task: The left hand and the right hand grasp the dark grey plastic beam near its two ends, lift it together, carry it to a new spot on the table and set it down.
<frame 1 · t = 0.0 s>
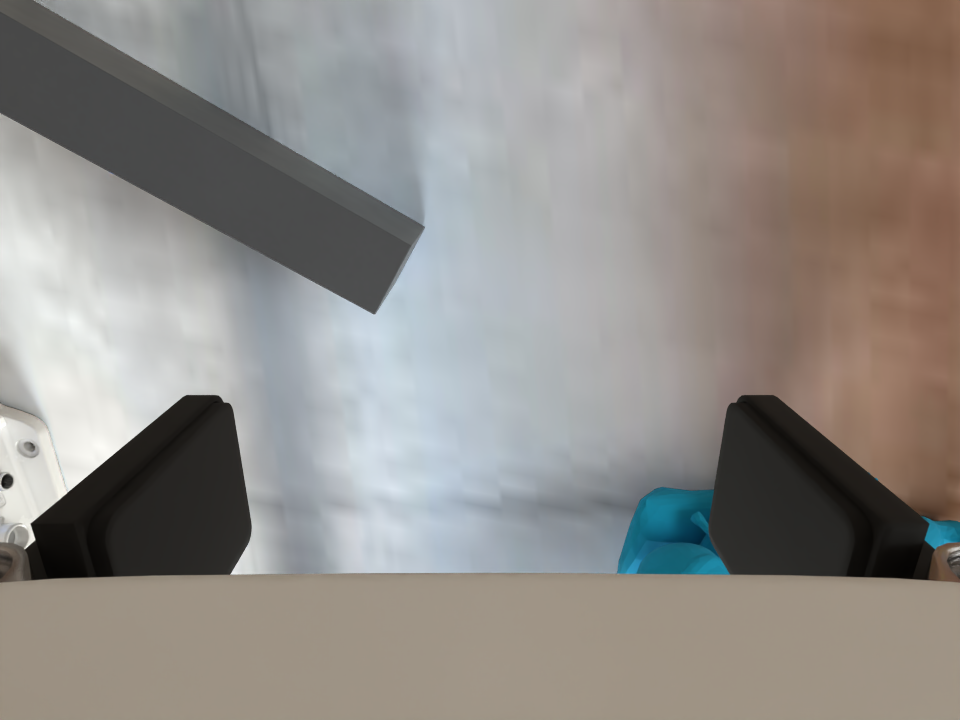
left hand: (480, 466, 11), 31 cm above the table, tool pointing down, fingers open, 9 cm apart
toy: (776, 524, 48), on the table
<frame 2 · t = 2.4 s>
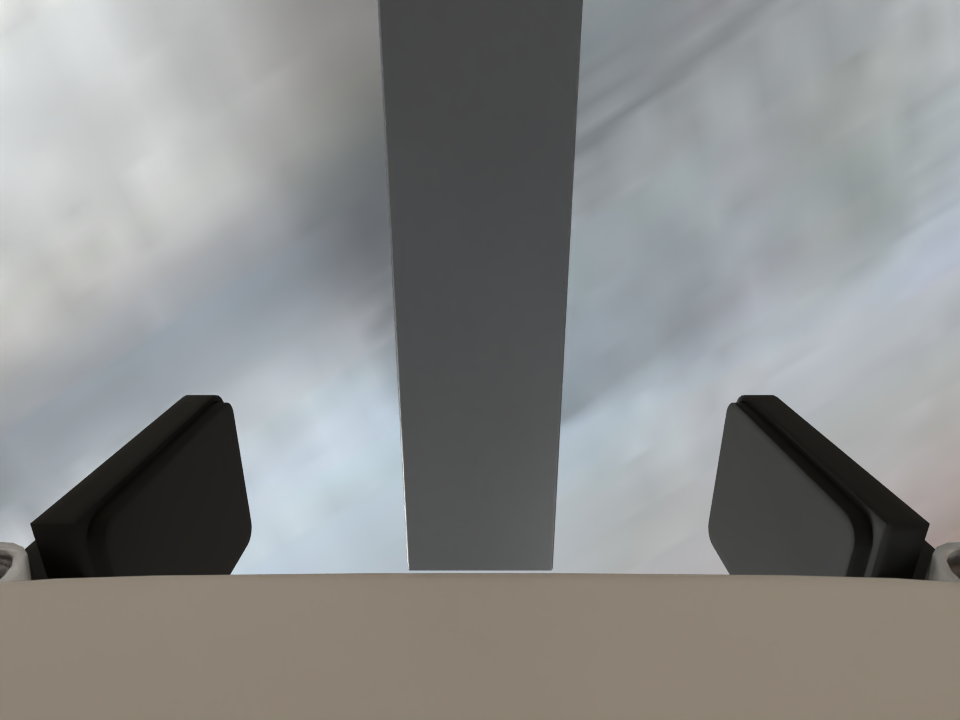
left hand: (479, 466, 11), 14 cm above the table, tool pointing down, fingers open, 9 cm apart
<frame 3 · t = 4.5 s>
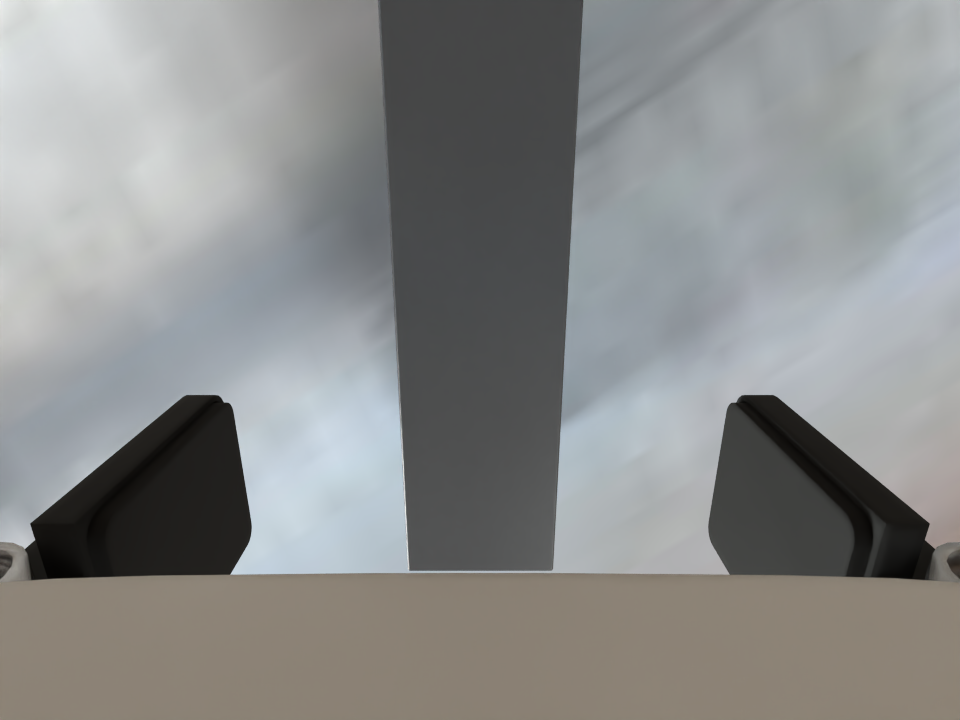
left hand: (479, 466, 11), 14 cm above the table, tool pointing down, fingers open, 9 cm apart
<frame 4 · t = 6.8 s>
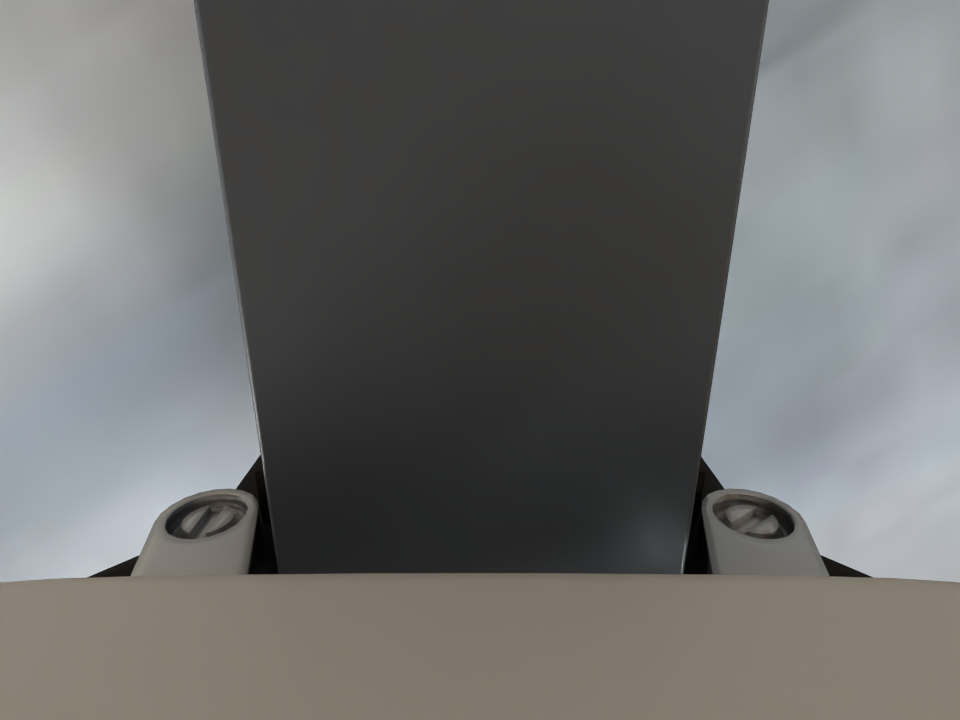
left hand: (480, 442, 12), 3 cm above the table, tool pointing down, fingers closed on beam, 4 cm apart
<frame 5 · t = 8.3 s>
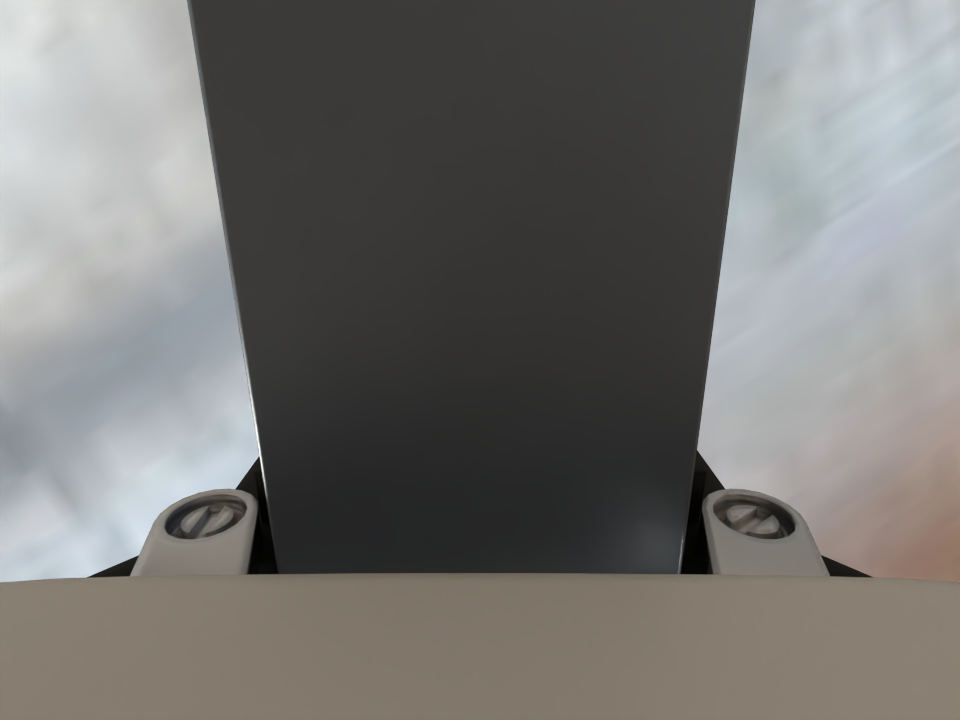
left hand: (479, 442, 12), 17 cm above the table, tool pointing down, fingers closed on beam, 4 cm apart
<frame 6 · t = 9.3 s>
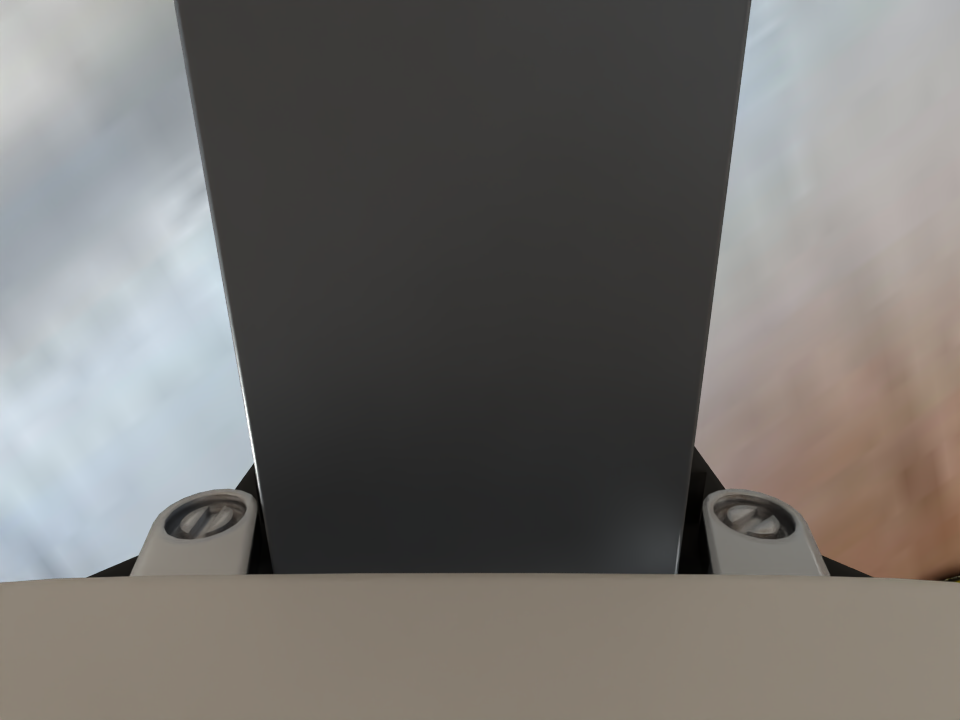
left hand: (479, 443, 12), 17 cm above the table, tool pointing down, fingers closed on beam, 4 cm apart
when the left hand's fingers open (4 cm above the table, at t = 12.3 s): beam stays where it is, on the table.
when the right hand's fingers open (4 cm above the table, at t = 12.4 s): beam stays where it is, on the table.
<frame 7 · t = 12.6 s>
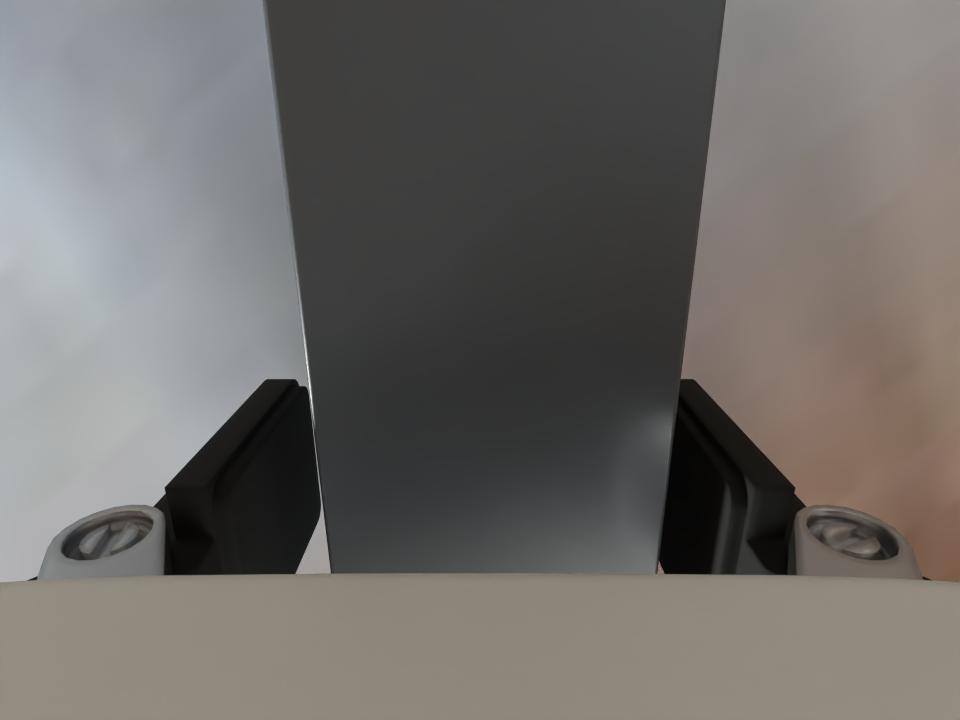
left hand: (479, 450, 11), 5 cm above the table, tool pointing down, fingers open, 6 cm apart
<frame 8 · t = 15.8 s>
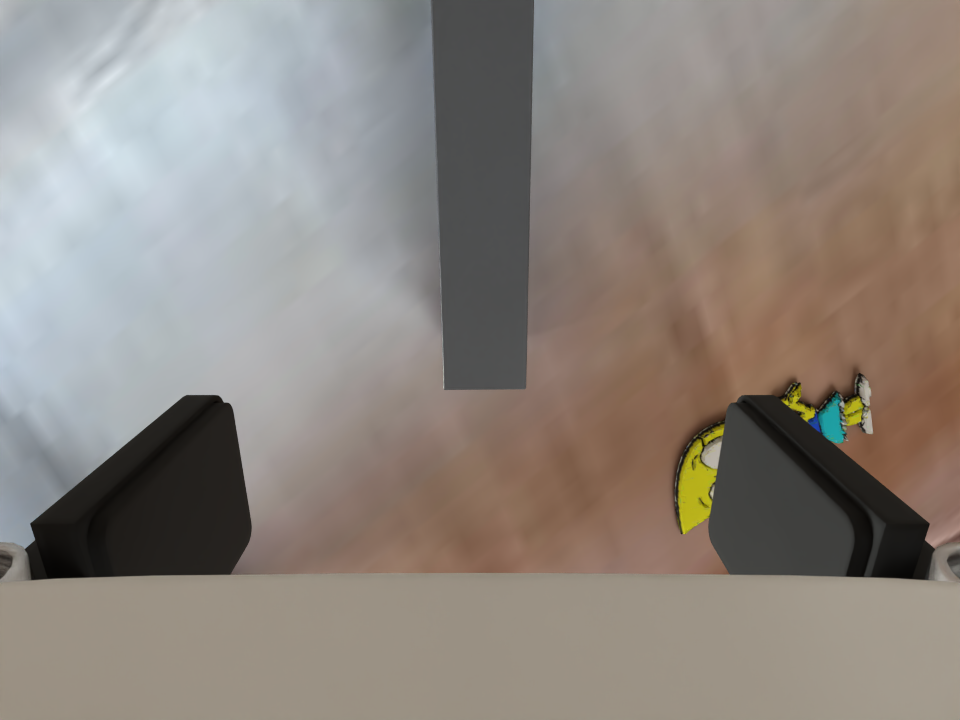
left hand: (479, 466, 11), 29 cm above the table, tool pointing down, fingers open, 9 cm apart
toy 2: (764, 451, 43), on the table
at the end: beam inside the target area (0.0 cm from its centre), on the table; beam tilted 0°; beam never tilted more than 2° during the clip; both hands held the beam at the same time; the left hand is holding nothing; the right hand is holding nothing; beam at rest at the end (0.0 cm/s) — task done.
